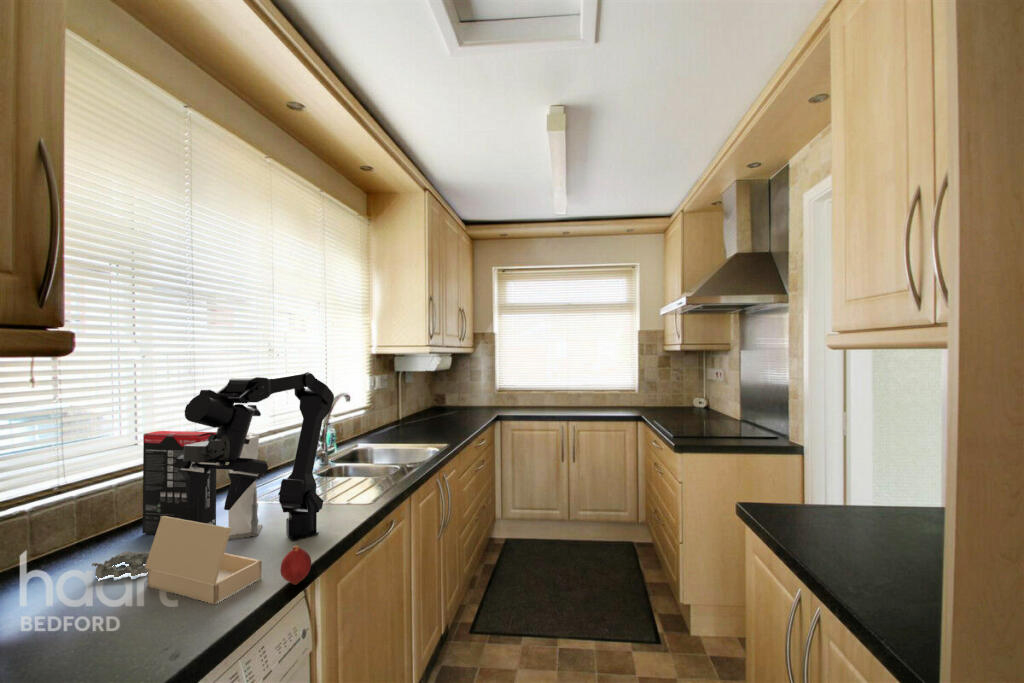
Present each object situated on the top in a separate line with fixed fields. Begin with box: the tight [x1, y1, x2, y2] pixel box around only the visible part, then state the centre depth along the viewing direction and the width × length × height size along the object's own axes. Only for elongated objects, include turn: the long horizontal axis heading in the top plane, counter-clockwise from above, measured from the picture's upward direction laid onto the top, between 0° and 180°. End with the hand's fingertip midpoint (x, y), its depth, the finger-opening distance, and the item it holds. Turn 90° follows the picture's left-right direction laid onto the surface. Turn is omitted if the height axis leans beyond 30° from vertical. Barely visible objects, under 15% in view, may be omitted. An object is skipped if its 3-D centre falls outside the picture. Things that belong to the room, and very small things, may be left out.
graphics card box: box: [141, 430, 217, 535], centre depth 118 cm, size 17×7×27 cm, turn 84°
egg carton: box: [91, 550, 150, 579], centre depth 96 cm, size 11×8×4 cm
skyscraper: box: [227, 432, 263, 541], centre depth 118 cm, size 8×8×28 cm
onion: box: [280, 545, 312, 585], centre depth 91 cm, size 6×6×8 cm
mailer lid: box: [145, 516, 231, 585], centre depth 88 cm, size 10×20×1 cm
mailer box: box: [147, 552, 262, 605], centre depth 92 cm, size 10×20×4 cm, turn 70°
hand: (207, 508), depth 89 cm, fingers open, 9 cm apart
